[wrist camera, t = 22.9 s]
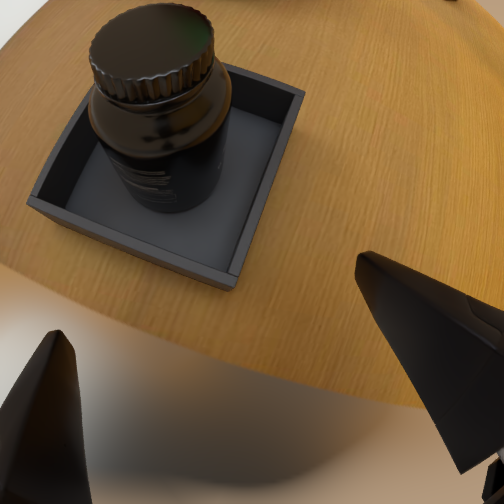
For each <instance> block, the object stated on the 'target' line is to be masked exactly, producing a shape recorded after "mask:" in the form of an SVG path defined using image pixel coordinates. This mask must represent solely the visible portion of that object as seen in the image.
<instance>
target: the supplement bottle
mask: <svg viewBox="0 0 504 504" xmlns="http://www.w3.org/2000/svg"><path fill="white" fill-rule="evenodd" d="M91 44H92V45H91V47H90V49H89V53H90V55H89V62H90V64H91V67H92V70H93V73H94V82H95V83H94V85H93V88H92V91H91V94H90V98H89V105H88V113H89V119H90V123H91V126H92V128H93V131H94V133H95V135H96V137H97V139H98V140H99V142H100V144H101V146H102V148H103V149H104V151H105V153H106V155H107V156H108V158H109V160H110V162H111V163H112V165H113V167H114V169H115V170H116V172H117V174H118V175H119V177H120V179H121V180H122V182H123V184H124V185H125V187H126V188H127V190H128V192H129V193H130V194H131V196H132V197H133V198H134V199H135V200H136V201H138V202H139V203H140V204H142V205H143V206H145V207H147V208H149V209H152V210H156V211H161V212H177V211H182V210H186V209H188V208H191V207H193V206H195V205H197V204H198V203H200V202H202V201H203V200H204V199H205V198H206V197H207V196H209V194H210V193H211V192H212V191H213V190H214V188H215V187H216V185H217V183H218V181H219V179H220V176H221V172H222V167H223V162H224V154H225V147H226V140H227V133H228V126H229V120H230V113H231V106H232V83H231V80H230V77H229V74H228V72H227V70H226V69H225V67H224V65H223V64H222V63H221V62H220V60H219V59H218V58H217V57H216V56H215V53H214V29H213V27H212V24H211V21H209V20H208V19H207V17H206V15H203V14H201V12H200V11H198V10H195V9H193V8H192V7H188V6H184V5H182V4H174V3H157V4H148V5H145V6H139V7H136V8H134V9H130V10H127V11H126V12H124V13H122V14H119V15H117V16H116V17H115V18H113V19H111V20H109V22H108V23H107V24H106V25H104V26H102V28H101V30H100V31H99V32H98V33H96V35H95V38H94V39H93V40H92V42H91Z"/></svg>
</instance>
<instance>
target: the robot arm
mask: <svg viewBox="0 0 504 504" xmlns="http://www.w3.org/2000/svg"><path fill="white" fill-rule="evenodd" d="M355 280H356V283H357V285H358V287H359V289H360V291H361V293H362V295H363V297H364V299H365V301H366V303H367V305H368V307H369V309H370V311H371V313H372V315H373V317H374V319H375V321H376V323H377V325H378V326H379V328H380V330H381V331H382V333H383V335H384V336H385V338H386V339H387V341H388V343H389V344H390V346H391V348H392V349H393V351H394V353H395V354H396V356H397V358H398V360H399V361H400V363H401V365H402V366H403V368H404V370H405V372H406V373H407V375H408V377H409V378H410V380H411V382H412V384H413V386H414V387H415V389H416V391H417V393H418V394H419V396H420V398H421V400H422V402H423V403H424V405H425V407H426V409H427V411H428V413H429V414H430V416H431V418H432V420H433V422H434V423H435V424H436V425H435V426H436V428H437V430H438V431H439V433H440V435H441V437H442V439H443V441H444V443H445V445H446V447H447V449H448V451H449V453H450V455H451V457H452V459H453V461H454V463H455V465H456V467H457V469H458V471H459V472H460V474H461V475H462V474H463V473H465V472H467V471H468V470H470V469H472V468H473V467H475V466H476V465H478V464H479V463H481V462H482V461H484V460H486V459H487V458H489V457H490V456H491V455H493V454H494V453H496V452H497V454H498V456H499V457H498V458H497V459H496V460H495V461H494V462H493V463H492V464H490V465H489V466H488V471H487V476H486V481H485V485H484V489H483V493H482V499H483V501H484V503H483V504H504V311H502V310H500V309H497V308H495V307H493V306H490V305H488V304H486V303H484V302H482V301H479V300H477V299H475V298H473V297H471V296H469V295H466V294H465V293H463V292H461V291H459V290H456V289H454V288H452V287H450V286H448V285H446V284H444V283H442V282H439V281H437V280H435V279H433V278H431V277H429V276H427V275H424V274H422V273H420V272H418V271H416V270H413V269H411V268H409V267H407V266H405V265H402V264H400V263H398V262H396V261H393V260H391V259H389V258H387V257H384V256H382V255H380V254H377V253H375V252H373V251H366V252H362V253H360V254H358V256H357V261H356V268H355ZM86 467H87V466H86V458H85V450H84V439H83V427H82V412H81V397H80V389H79V382H78V374H77V365H76V355H75V350H74V348H73V346H72V345H71V343H70V342H69V340H68V339H67V338H66V336H65V335H64V333H63V332H62V331H61V330H54V331H50V332H48V333H47V334H46V336H45V337H44V338H43V340H42V342H41V343H40V344H39V346H38V348H37V349H36V351H35V352H34V353H33V355H32V357H31V358H30V360H29V361H28V363H27V364H26V366H25V368H24V369H23V371H22V372H21V374H20V376H19V377H18V379H17V380H16V382H15V384H14V386H13V387H12V389H11V390H10V392H9V394H8V396H7V397H6V399H5V401H4V402H3V404H2V406H1V408H0V504H92V499H91V493H90V487H89V481H88V474H87V468H86Z"/></svg>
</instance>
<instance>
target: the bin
mask: <svg viewBox="0 0 504 504" xmlns="http://www.w3.org/2000/svg"><path fill="white" fill-rule="evenodd" d="M221 63H222V64H223V65H224V67H225V69H226V70H227V72H228V74H229V77H230V80H231V83H232V106H231V113H230V120H229V126H228V133H227V140H226V147H225V154H224V162H223V167H222V172H221V176H220V179H219V181H218V183H217V185H216V187H215V188H214V190H213V191H212V192H211V193H210V194H209V196H207V197H206V198H205V199H204V200H203V201H202V202H200V203H198V204H197V205H195V206H193V207H191V208H188V209H186V210H182V211H177V212H161V211H156V210H152V209H149V208H147V207H145V206H143V205H142V204H140V203H139V202H138V201H136V200H135V199H134V198H133V197H132V196H131V194H130V193H129V192H128V190H127V188H126V187H125V185H124V184H123V182H122V180H121V179H120V177H119V175H118V174H117V172H116V170H115V169H114V167H113V165H112V163H111V162H110V160H109V158H108V156H107V155H106V153H105V151H104V149H103V148H102V146H101V144H100V142H99V140H98V139H97V137H96V135H95V133H94V131H93V128H92V126H91V123H90V119H89V113H88V105H89V98H90V94H91V91H92V88H93V86H92V87H91V88H90V90H89V91H88V93H87V94H86V96H85V97H84V99H83V100H82V102H81V103H80V105H79V106H78V108H77V109H76V111H75V113H74V114H73V116H72V117H71V119H70V121H69V122H68V124H67V125H66V127H65V129H64V130H63V132H62V134H61V136H60V137H59V139H58V141H57V143H56V144H55V146H54V148H53V150H52V152H51V153H50V155H49V157H48V159H47V161H46V163H45V165H44V167H43V169H42V171H41V173H40V175H39V177H38V179H37V181H36V183H35V185H34V187H33V189H32V191H31V193H30V196H29V198H28V200H27V202H26V204H27V205H29V206H30V207H32V208H33V209H35V210H36V211H38V212H40V213H41V214H43V215H44V216H46V217H48V218H49V219H51V220H52V221H54V222H56V223H58V224H60V225H63V226H65V227H67V228H69V229H72V230H74V231H76V232H79V233H81V234H83V235H86V236H88V237H90V238H93V239H95V240H97V241H100V242H102V243H105V244H107V245H109V246H112V247H114V248H117V249H119V250H122V251H124V252H126V253H129V254H131V255H134V256H136V257H139V258H141V259H144V260H146V261H149V262H151V263H154V264H156V265H159V266H161V267H164V268H166V269H169V270H172V271H174V272H177V273H179V274H182V275H185V276H187V277H190V278H192V279H195V280H198V281H200V282H203V283H206V284H208V285H211V286H214V287H216V288H219V289H222V290H224V291H227V292H229V291H230V290H232V289H233V288H235V286H236V283H237V280H238V277H239V275H240V272H241V269H242V267H243V264H244V261H245V258H246V256H247V253H248V250H249V247H250V244H251V242H252V239H253V236H254V233H255V231H256V228H257V225H258V222H259V220H260V217H261V214H262V211H263V209H264V206H265V203H266V200H267V197H268V195H269V192H270V189H271V186H272V184H273V181H274V178H275V175H276V173H277V170H278V167H279V164H280V162H281V159H282V156H283V153H284V151H285V148H286V145H287V143H288V140H289V137H290V134H291V132H292V129H293V126H294V123H295V121H296V118H297V115H298V112H299V110H300V107H301V104H302V101H303V98H304V96H305V93H306V92H305V91H303V90H300V89H298V88H295V87H293V86H290V85H288V84H285V83H282V82H280V81H277V80H274V79H271V78H269V77H266V76H263V75H260V74H257V73H254V72H251V71H248V70H245V69H242V68H239V67H236V66H233V65H229V64H226V63H223V62H221ZM93 85H94V84H93Z"/></svg>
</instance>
